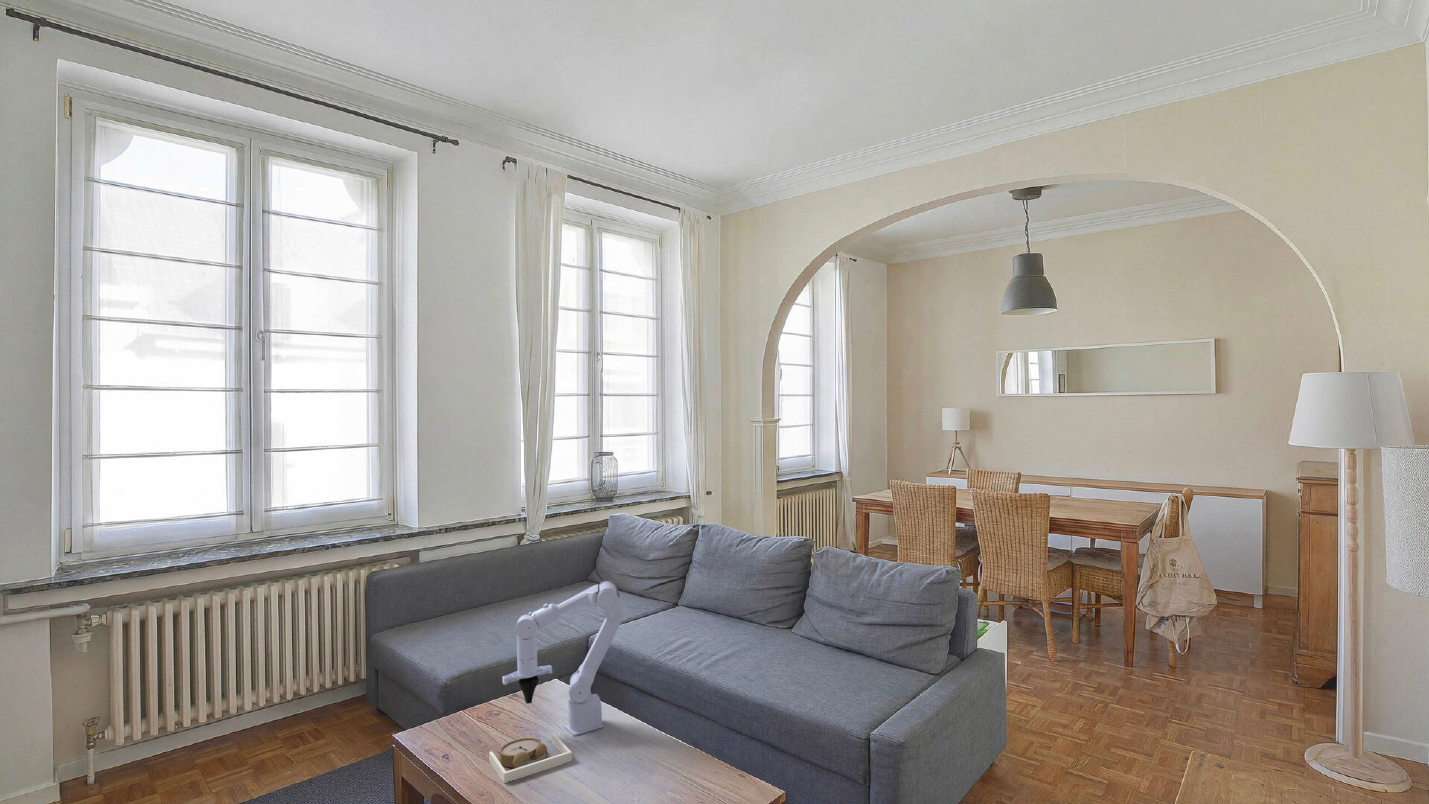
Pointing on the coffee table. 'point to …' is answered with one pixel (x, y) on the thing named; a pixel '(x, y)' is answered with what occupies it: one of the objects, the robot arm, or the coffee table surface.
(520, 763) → the alarm clock
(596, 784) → the coffee table surface
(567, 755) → the clock dock
